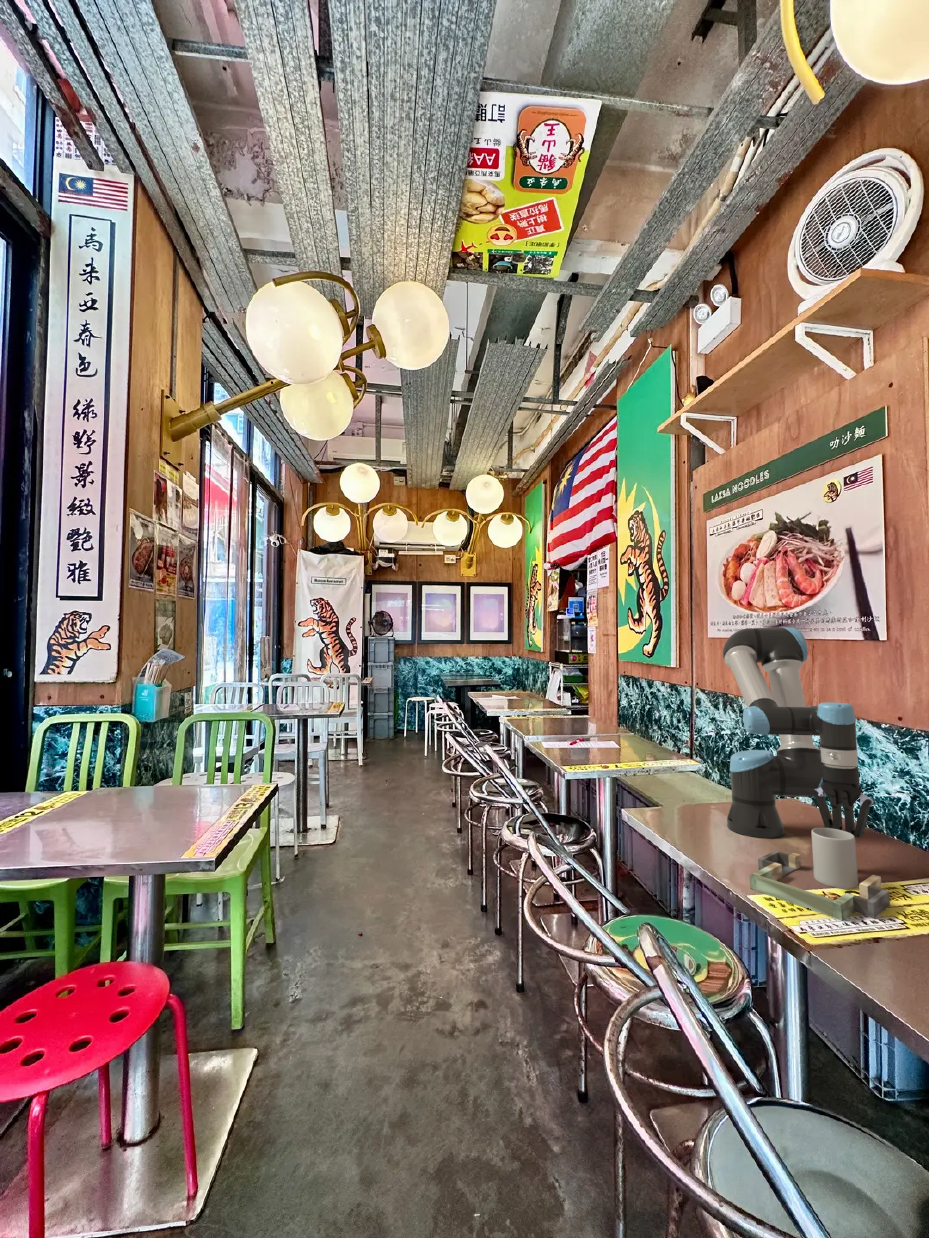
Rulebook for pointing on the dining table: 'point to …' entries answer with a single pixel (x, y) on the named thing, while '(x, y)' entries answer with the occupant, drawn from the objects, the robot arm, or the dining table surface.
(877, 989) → the dining table surface
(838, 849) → the mug
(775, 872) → the grey-green u-shaped bracket
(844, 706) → the robot arm
